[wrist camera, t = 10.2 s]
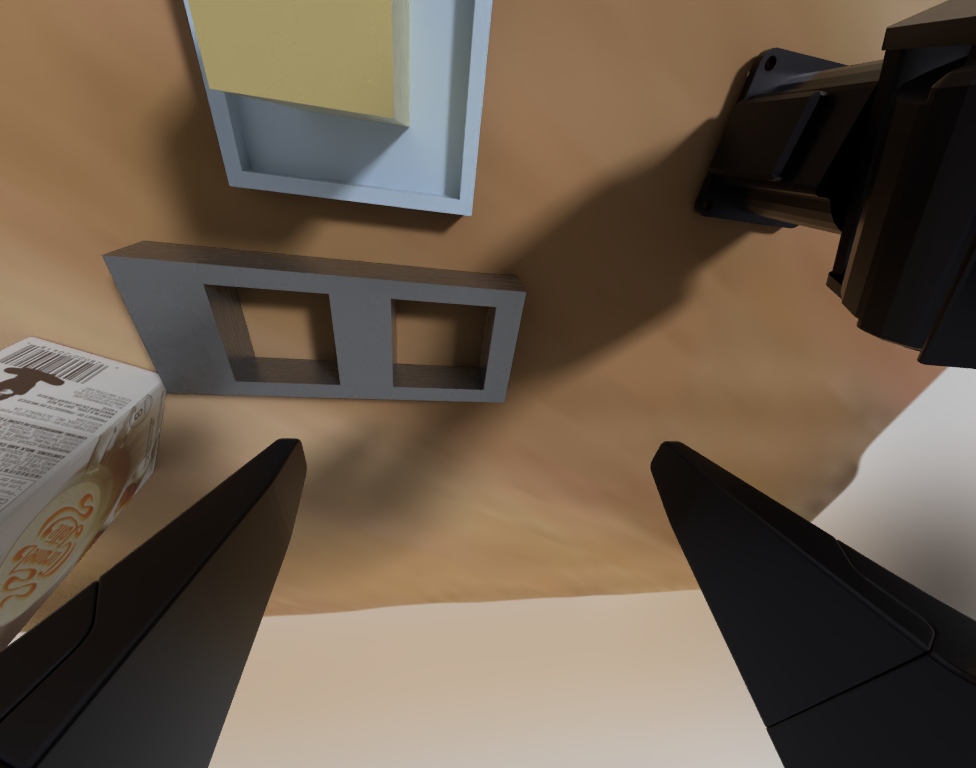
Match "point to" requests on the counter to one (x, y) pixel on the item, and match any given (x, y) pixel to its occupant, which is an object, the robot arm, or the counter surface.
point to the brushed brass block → (310, 54)
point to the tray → (374, 126)
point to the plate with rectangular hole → (355, 316)
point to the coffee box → (65, 462)
